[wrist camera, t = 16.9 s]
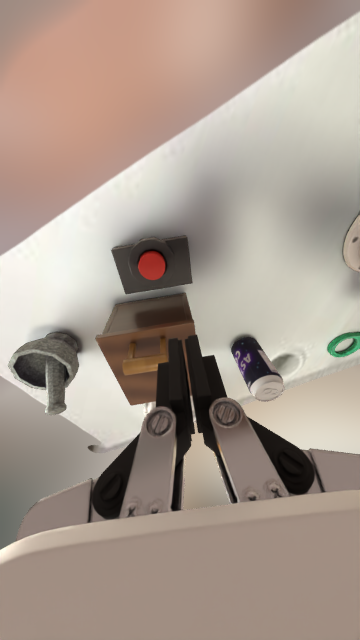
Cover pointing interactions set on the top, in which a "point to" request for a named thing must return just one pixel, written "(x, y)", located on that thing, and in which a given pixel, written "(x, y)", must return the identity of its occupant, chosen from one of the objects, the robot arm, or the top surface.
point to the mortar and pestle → (47, 367)
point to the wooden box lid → (142, 356)
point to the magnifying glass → (357, 344)
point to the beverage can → (257, 370)
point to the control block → (173, 255)
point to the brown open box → (148, 313)
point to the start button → (152, 265)
